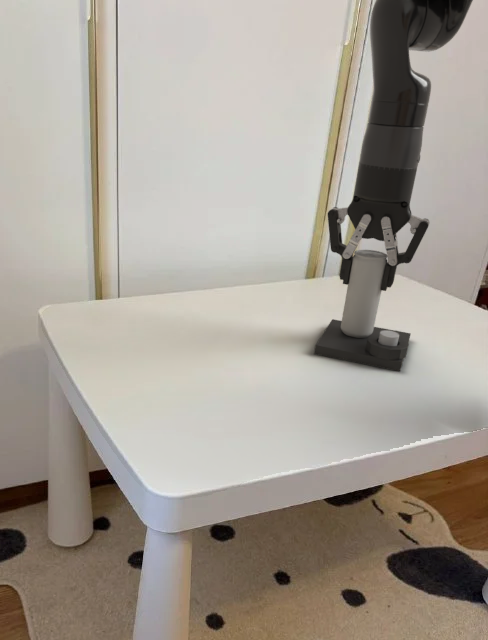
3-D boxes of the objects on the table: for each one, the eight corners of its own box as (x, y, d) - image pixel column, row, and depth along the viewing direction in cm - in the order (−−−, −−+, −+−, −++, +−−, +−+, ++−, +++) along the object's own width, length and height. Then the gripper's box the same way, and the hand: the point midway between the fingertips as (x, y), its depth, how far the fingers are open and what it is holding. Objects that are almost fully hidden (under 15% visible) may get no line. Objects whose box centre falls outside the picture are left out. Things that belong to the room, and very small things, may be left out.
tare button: (398, 342, 89) (400, 332, 88) (395, 349, 87) (398, 338, 86) (379, 339, 90) (381, 328, 89) (376, 345, 88) (378, 335, 87)
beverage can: (367, 327, 97) (382, 250, 92) (376, 339, 93) (393, 259, 87) (336, 326, 97) (349, 248, 91) (344, 338, 93) (358, 257, 87)
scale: (410, 342, 96) (414, 323, 95) (401, 372, 86) (406, 352, 85) (330, 327, 100) (333, 309, 99) (313, 354, 90) (316, 335, 89)
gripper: (329, 159, 83) (310, 285, 91) (443, 170, 78) (413, 302, 86) (339, 154, 89) (321, 272, 97) (446, 164, 84) (418, 287, 92)
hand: (365, 285), depth 92 cm, fingers closed on beverage can, 4 cm apart
